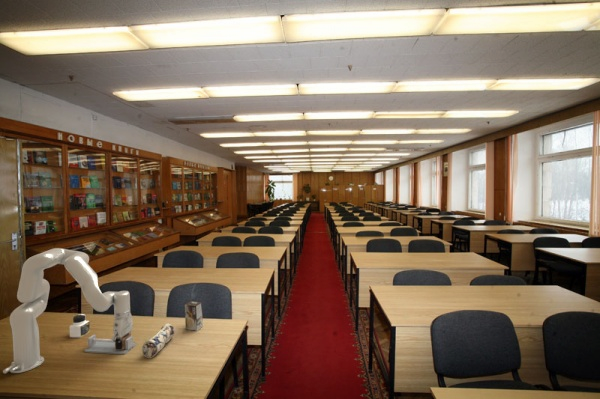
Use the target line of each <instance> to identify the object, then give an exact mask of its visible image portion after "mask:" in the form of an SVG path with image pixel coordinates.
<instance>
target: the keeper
mask: <svg viewBox="0 0 600 399" xmlns="http://www.w3.org/2000/svg"><path fill="white" fill-rule="evenodd" d="M130 336H132V333H131V334H128V333H127V334H126V335H125V336H123V337H122V338H121V342H122V349H116V342H115V349H116V350H124V349H125V340H126V339H127V338H129V337H130ZM118 340H119V337H118Z"/></svg>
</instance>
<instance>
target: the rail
mask: <svg viewBox="0 0 600 399" xmlns="http://www.w3.org/2000/svg"><path fill="white" fill-rule="evenodd" d="M136 346H137V343H134V336H132V335H131V336H130V337H129V338H127V339H126V340H125V349H124V350H116V349H115V342H114V341H113V340H112V338H111V339H110V338H97V335H96V334H92V335H91V336H89V337H87V348H85V349H84V350H83V351H84V353H92V354H111V355H113V354H114V355H126V354H127V353H128V352H130V351H131V350H132V349H133V348H134V347H136Z"/></svg>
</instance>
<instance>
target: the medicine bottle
mask: <svg viewBox="0 0 600 399" xmlns="http://www.w3.org/2000/svg"><path fill="white" fill-rule="evenodd" d="M86 319H87V318H86V314H84V313H81V314H76V315H75V316H74V317H72V324H71V325H69V327H68V328H69V338H83V337H84V336H86V335H87V334H88V333H90V329H91V328H90V320H86Z"/></svg>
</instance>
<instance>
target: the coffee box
mask: <svg viewBox="0 0 600 399" xmlns="http://www.w3.org/2000/svg"><path fill="white" fill-rule="evenodd" d="M184 318H185V322H184V323H185V324H184V325H185V330H191V331H197V332H198V331H199V330H200V329H202V328H203V327H204V326H203V324H204V323H203V322H204V321H203V302H201V301H193V300H190V301H188V302H187V303H185V304H184Z"/></svg>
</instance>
